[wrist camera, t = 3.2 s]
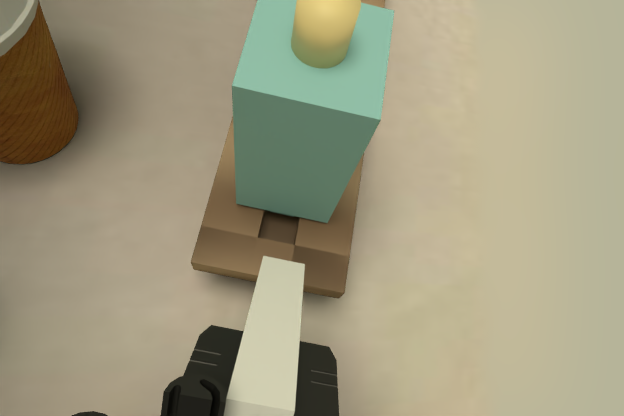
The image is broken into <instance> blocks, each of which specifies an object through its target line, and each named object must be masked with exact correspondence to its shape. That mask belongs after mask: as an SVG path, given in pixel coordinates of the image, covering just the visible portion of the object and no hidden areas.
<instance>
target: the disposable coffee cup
mask: <svg viewBox="0 0 624 416" xmlns="http://www.w3.org/2000/svg"><path fill="white" fill-rule="evenodd" d="M77 125H78V111H77V107H76V105H75V102H74V99H73V96H72V94H71V91H70V88H69V85H68V83H67V80H66V77H65V74H64V71H63V68H62V65H61V63H60V60H59V57H58V54H57V51H56V49H55V46H54V43H53V40H52V38H51V35H50V32H49V29H48V26H47V23H46V21H45V18H44V15H43V12H42V9H41V6H40V4H39V0H0V161H2V162H6V163H11V164H27V163H33V162H37V161H41V160H44V159H46V158H48V157H51V156H52V155H54V154H56V153H57V152H59V151H60V150H61V149H62V148H63V147H65V146H66V145H67V144H68V143H69V141H70V140H71V139H72V137H73V136H74V133H75V131H76V129H77Z"/></svg>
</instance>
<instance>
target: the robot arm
mask: <svg viewBox="0 0 624 416" xmlns="http://www.w3.org/2000/svg"><path fill="white" fill-rule="evenodd" d="M304 270H305V264H302V263H297V262H292V261H287V260H282V259H277V258H272V257H268V256H263V259H262V263H261V267H260V271H259V275H258V278H257V282H256V286H255V290H254V294H253V298H252V301H251V305H250V309H249V313H248V317H247V321H246V325H245V328H244V331H239V330H234V329H229V328H223V327H218V326H213V325H211V326H210V327H209V328H207V329H206V330H205V331H204V332H203V333H202V334H200V336H199V338H198V341H197V343H196V346H195V348H194V351H193V353H192V356H191V358H190V361H189V363H188V365H187V368H186V370H185V373H184V375H183V376H182V377H179V378H177V379H176V380H174V381H172V382H171V383H170V384H169V385H168V386H167V388H166V389H165V391H164V394H163V402H162V410H161V416H339V405H338V388H337V364H336V359H335V357H334V355H333V353H332V351H331V350H330V348H329V347H327V346H322V345H317V344H312V343H307V342H302V341H300V328H301V314H302V299H303V284H304ZM72 416H107V415H106V414H103V413H98V412H94V411H92V412H81V413H77V414H75V415H72Z"/></svg>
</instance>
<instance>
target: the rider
mask: <svg viewBox="0 0 624 416" xmlns="http://www.w3.org/2000/svg"><path fill="white" fill-rule="evenodd" d="M393 17H394V11H393V10H389V9H385V8H381V7H377V6H373V5H369V4H365V3H361V0H257V4H256V7H255V11H254V14H253V17H252V21H251V24H250V27H249V31H248V34H247V37H246V41H245V44H244V47H243V51H242V54H241V57H240V61H239V64H238V67H237V71H236V74H235V77H234V81H233V84H232V99H233V128H234V156H235V185H236V204H240V205H244V206H249V207H254V208H259V209H263V210H268V211H270V212H273V213H277V214H282V215H287V216H292V217H294V216H296V217H301V218H306V219H311V220H315V221H320V222H325V223H328V221H329V219H330V217H331V215H332V213H333V211H334V209H335V207H336V206H337V204H338V202H339V200H340V198H341V196H342V194H343V192H344V190H345V188H346V186H347V184H348V182H349V180H350V178H351V176H352V174H353V172H354V171H355V169H356V167H357V165H358V163H359V161H360V159H361V157H362V155H363V153H364V151H365V149H366V147H367V145H368V143H369V141H370V139H371V137H372V136H373V134H374V132H375V130H376V128H377V126H378V124H379V122H380V120H381V112H382V104H383V96H384V88H385V81H386V73H387V65H388V57H389V49H390V41H391V33H392V25H393Z"/></svg>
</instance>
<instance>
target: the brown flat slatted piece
mask: <svg viewBox="0 0 624 416" xmlns="http://www.w3.org/2000/svg"><path fill="white" fill-rule="evenodd" d="M361 3H365V4H369V5H373V6H377V7H381V8H384V5H385V0H361ZM363 156H364V153H363V155H362V157H361V159H360V161H359V163H358V165H357V167H356V169H355V171H354V172H353V174H352V176H351V178H350V180H349V182H348V184H347V186H346V188H345V190H344V192H343V194H342V196H341V198H340V200H339V202H338V204H337V206H336V207H335V209H334V211H333V213H332V215H331V217H330V219H329V221H328V223H325V222H320V221H315V220H311V219H306V218H301V217H296V216H294V217H292V216H287V215H282V214H277V213H273V212H270V211H268V210H263V209H259V208H254V207H249V206H244V205H240V204H236V185H235V156H234V128H233V117H232V121H231V124H230V128H229V131H228V135H227V138H226V142H225V145H224V149H223V152H222V155H221V159H220V162H219V166H218V169H217V173H216V176H215V180H214V183H213V187H212V190H211V194H210V197H209V201H208V204H207V207H206V211H205V214H204V218H203V221H202V225H201V228H200V232H199V235H198V239H197V242H196V246H195V249H194V253H193V256H192V260H191V264H192V266H193V269H194V270H199V271H204V272H209V273H214V274H219V275H224V276H229V277H234V278H239V279H244V280H249V281H254V282H257V278H258V275H259V271H260V267H261V263H262V259H263V256H268V257H272V258H277V259H282V260H287V261H292V262H297V263H302V264H305V270H304V284H303V291H304V292H309V293H314V294H319V295H324V296H329V297H334V298H340V297H341V296H342V295H343V294H344V292H345V285H346V278H347V271H348V264H349V256H350V249H351V242H352V235H353V228H354V220H355V213H356V206H357V199H358V192H359V184H360V177H361V170H362V163H363Z"/></svg>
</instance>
